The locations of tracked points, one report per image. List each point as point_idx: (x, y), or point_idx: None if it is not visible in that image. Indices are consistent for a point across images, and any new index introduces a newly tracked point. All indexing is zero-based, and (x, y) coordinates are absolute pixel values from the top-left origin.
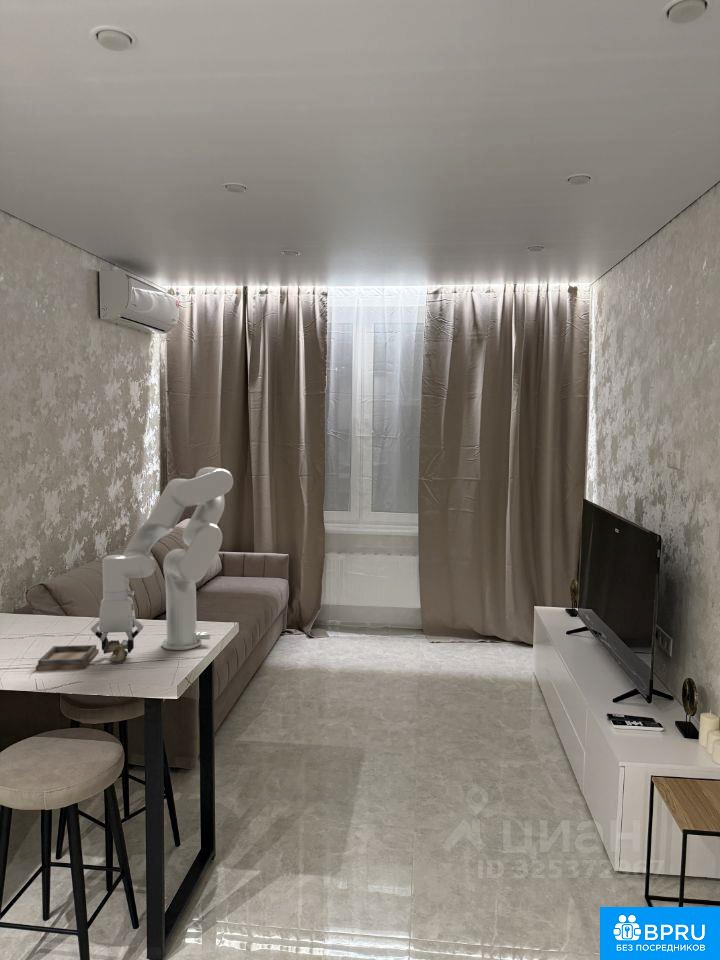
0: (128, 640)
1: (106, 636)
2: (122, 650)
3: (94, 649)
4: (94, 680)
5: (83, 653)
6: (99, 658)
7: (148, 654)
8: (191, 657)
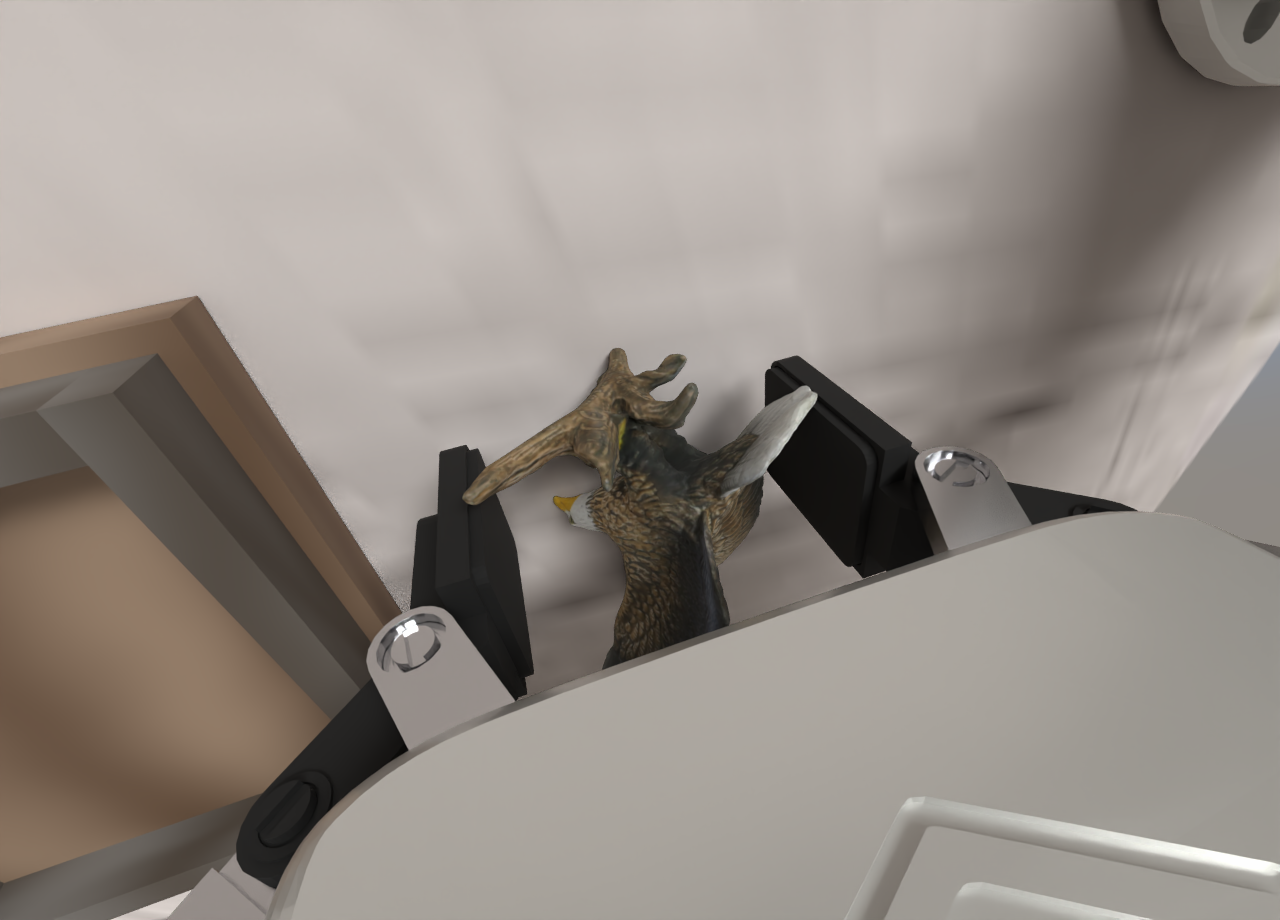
0: (871, 571)
1: (466, 636)
2: (727, 517)
3: (224, 485)
4: None
5: (115, 554)
6: (410, 497)
7: (928, 266)
8: (1253, 299)
